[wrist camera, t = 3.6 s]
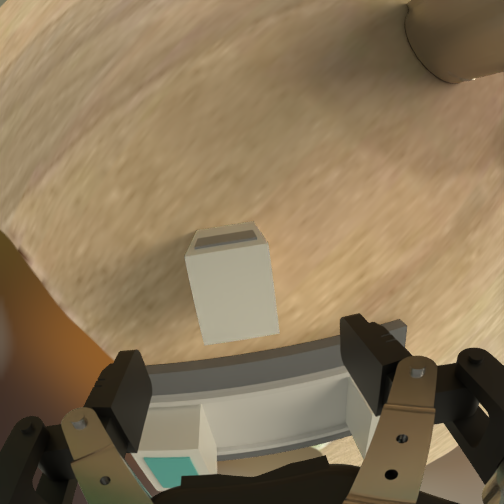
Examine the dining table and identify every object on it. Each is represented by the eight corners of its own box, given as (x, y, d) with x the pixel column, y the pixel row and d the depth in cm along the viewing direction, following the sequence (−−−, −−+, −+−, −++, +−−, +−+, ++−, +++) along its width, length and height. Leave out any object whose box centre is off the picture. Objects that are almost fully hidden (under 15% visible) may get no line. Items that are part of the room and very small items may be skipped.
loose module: (196, 228, 24) (183, 254, 16) (253, 219, 24) (267, 240, 16) (209, 295, 25) (204, 345, 17) (262, 286, 25) (279, 333, 18)
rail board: (129, 366, 26) (105, 423, 18) (399, 319, 28) (444, 360, 20) (170, 454, 30) (164, 507, 22) (387, 414, 31) (415, 457, 23)
